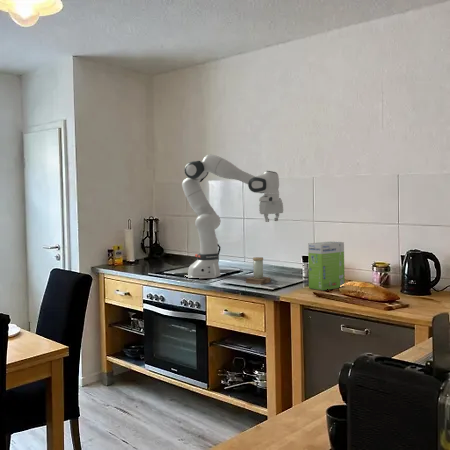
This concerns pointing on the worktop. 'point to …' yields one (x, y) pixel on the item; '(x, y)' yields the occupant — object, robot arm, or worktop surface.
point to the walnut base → (258, 280)
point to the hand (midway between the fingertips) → (271, 221)
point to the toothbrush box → (326, 265)
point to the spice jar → (258, 267)
